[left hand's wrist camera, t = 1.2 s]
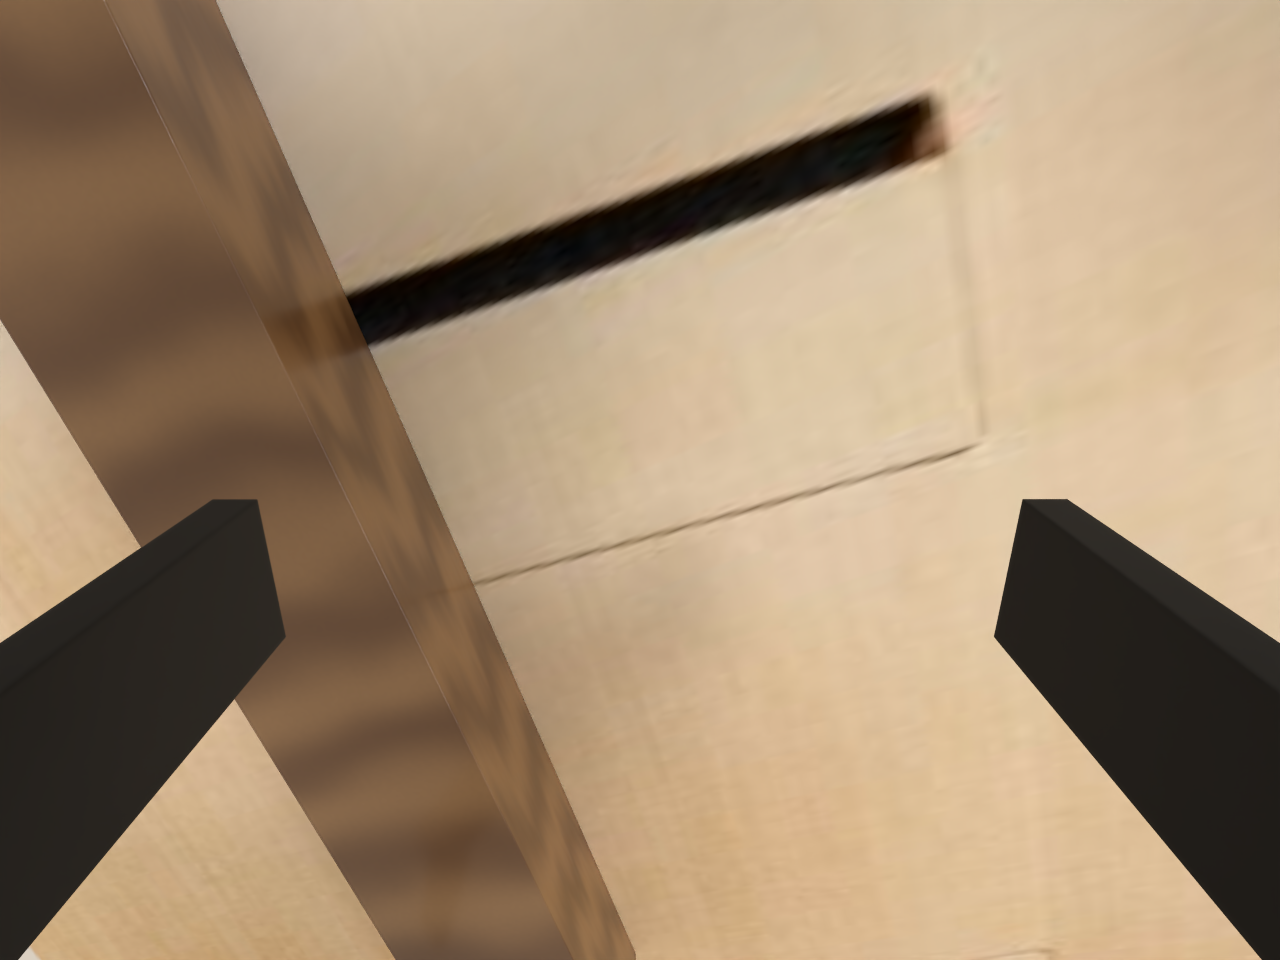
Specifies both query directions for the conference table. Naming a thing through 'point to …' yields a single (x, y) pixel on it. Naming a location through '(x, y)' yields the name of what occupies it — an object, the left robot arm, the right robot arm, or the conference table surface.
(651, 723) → the conference table surface
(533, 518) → the conference table surface
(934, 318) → the conference table surface
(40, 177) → the slab
